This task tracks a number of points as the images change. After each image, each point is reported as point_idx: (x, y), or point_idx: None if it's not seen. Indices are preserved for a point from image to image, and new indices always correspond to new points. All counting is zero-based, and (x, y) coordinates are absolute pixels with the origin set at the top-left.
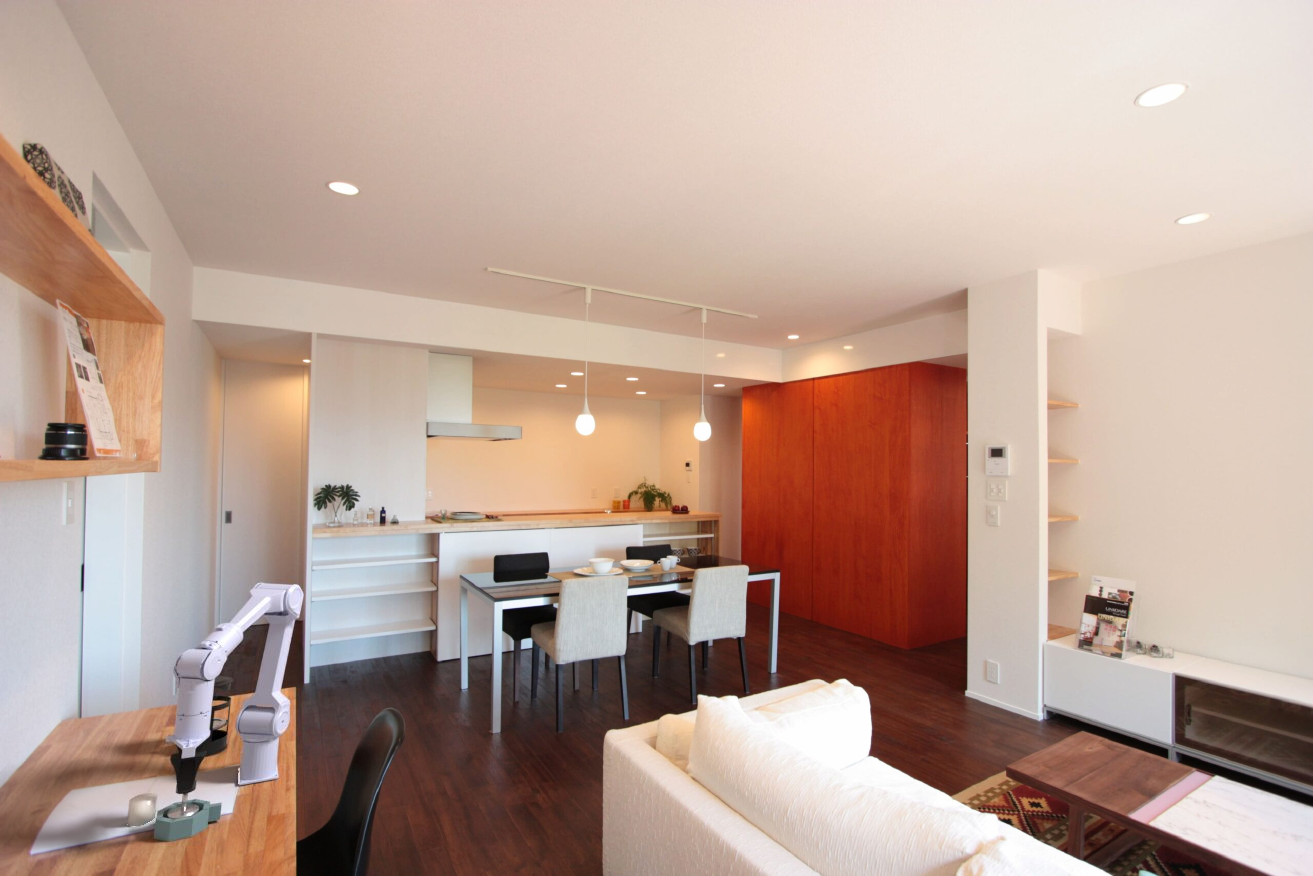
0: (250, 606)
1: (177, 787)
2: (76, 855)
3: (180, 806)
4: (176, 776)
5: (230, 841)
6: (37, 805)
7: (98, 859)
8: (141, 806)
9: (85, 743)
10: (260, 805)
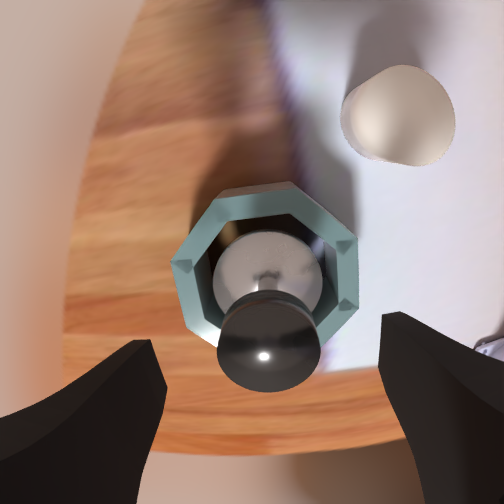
0: None
1: (117, 350)
2: (191, 5)
3: (315, 267)
4: (64, 389)
5: None
6: None
7: (141, 71)
8: (360, 115)
9: None
10: (335, 416)
